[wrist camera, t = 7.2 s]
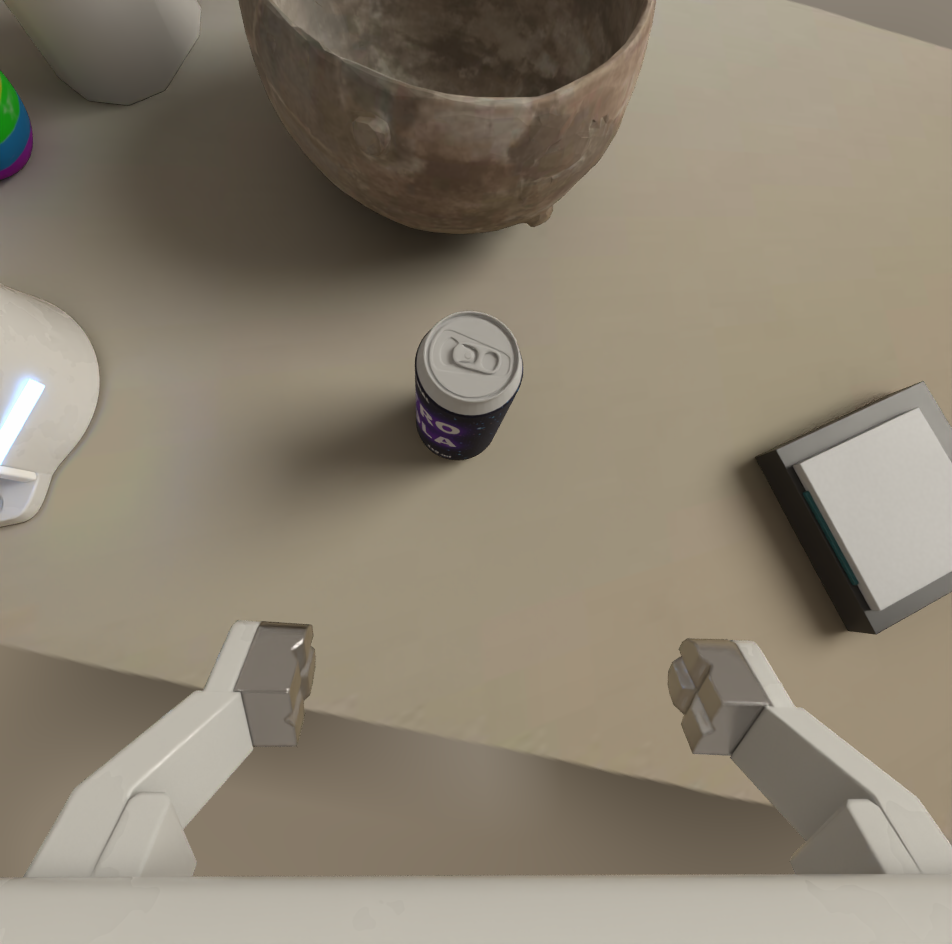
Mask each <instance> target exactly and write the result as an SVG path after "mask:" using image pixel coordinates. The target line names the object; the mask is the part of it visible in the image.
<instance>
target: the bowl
mask: <svg viewBox="0 0 952 944" xmlns="http://www.w3.org/2000/svg"><path fill="white" fill-rule="evenodd" d="M655 4H656V0H239V5H240V10H241V14H242V19H243V23H244V28H245V32H246V36H247V39H248V42H249V45H250V49H251V52H252V56H253V59H254V62H255V65H256V67H257V70H258V73H259V76H260V78H261V81H262V83H263V86H264V88H265V90H266V93H267V95H268V98H269V100H270V102H271V104H272V105H273V107H274V109H275V111H276V113H277V115H278V116H279V118H280V120H281V121H282V123H283V125H284V126H285V128H286V130H287V131H288V133H289V134H290V135H291V137H292V138H293V139H294V140H295V142H296V143H297V144H298V146H299V147H300V148H301V150H302V151H303V152H304V153H305V154H306V156H307V157H308V158H309V159H310V160H311V161H312V162H313V163H314V164H315V165H316V167H317V168H318V169H319V170H320V171H321V172H322V173H323V174H324V175H325V176H326V177H327V178H328V179H329V180H330V181H331V182H332V183H333V184H334V185H336V186H337V187H338V188H339V189H340V190H342V191H343V192H345V193H346V194H348V195H349V196H351V197H352V198H354V199H355V200H357V201H358V202H360V203H361V204H363V205H364V206H366V207H368V208H370V209H371V210H373V211H375V212H376V213H378V214H380V215H383V216H385V217H387V218H389V219H391V220H393V221H395V222H398V223H400V224H403V225H406V226H408V227H411V228H414V229H419V230H424V231H428V232H438V233H454V234H467V233H478V232H479V233H483V232H490V231H497V230H500V229H503V228H507V227H510V226H513V225H515V224H519V223H527V224H529V225H530V226H531V227H535V226H537V225H540V224H542V223H544V222H546V221H547V220H548V219H549V218H550V215H551V213H552V211H553V204H555V203H556V202H557V201H558V200H560V199H561V198H562V197H563V196H564V195H565V194H566V193H567V192H568V191H569V190H570V189H571V188H572V187H573V186H574V185H575V184H576V183H577V182H578V181H579V180H580V179H581V178H582V177H583V176H584V175H585V174H586V173H587V172H588V171H589V170H590V169H591V168H592V167H593V166H595V165H596V163H597V162H598V161H599V160H600V159H601V157H602V156H603V154H604V153H605V151H606V149H607V148H608V146H609V145H610V143H611V141H612V140H613V138H614V136H615V135H616V133H617V131H618V129H619V126H620V124H621V121H622V118H623V115H624V112H625V110H626V107H627V105H628V102H629V100H630V98H631V95H632V93H633V90H634V88H635V85H636V82H637V79H638V76H639V73H640V70H641V67H642V63H643V59H644V55H645V52H646V48H647V44H648V40H649V36H650V32H651V27H652V23H653V16H654V10H655Z"/></svg>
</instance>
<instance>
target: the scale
mask: <svg viewBox="0 0 952 944" xmlns="http://www.w3.org/2000/svg"><path fill="white" fill-rule="evenodd" d="M755 458H756V460H757V462H758V464H759V465H760V467H761V469H762V471H763V473H764V475H765V477H766V479H767V480H768V482H769V484H770V486H771V488H772V490H773V492H774V493H775V495H776V497H777V499H778V501H779V503H780V505H781V507H782V508H783V510H784V512H785V514H786V516H787V518H788V520H789V521H790V523H791V525H792V527H793V529H794V531H795V533H796V535H797V536H798V538H799V540H800V542H801V544H802V546H803V548H804V549H805V551H806V553H807V555H808V557H809V559H810V561H811V563H812V564H813V566H814V568H815V570H816V572H817V574H818V576H819V577H820V579H821V581H822V583H823V585H824V587H825V589H826V590H827V592H828V594H829V596H830V598H831V600H832V602H833V604H834V605H835V607H836V609H837V611H838V613H839V615H840V617H841V618H842V620H843V622H844V624H845V626H846V628H847V630H848V631H852V632H861V633H869V634H878V633H880V632H881V631H883V630H885V629H887V628H888V627H890V626H892V625H894V624H895V623H897V622H899V621H901V620H903V619H904V618H906V617H908V616H910V615H911V614H913V613H915V612H917V611H918V610H920V609H922V608H924V607H926V606H927V605H929V604H931V603H933V602H934V601H936V600H938V599H940V598H941V597H943V596H945V595H947V594H949V593H950V592H952V428H951V426H950V424H949V423H948V421H947V419H946V418H945V416H944V414H943V413H942V411H941V409H940V408H939V406H938V404H937V403H936V401H935V399H934V398H933V396H932V394H931V393H930V391H929V389H928V388H927V386H926V384H925V383H924V381H922V382H919V383H917V384H914V385H912V386H909V387H907V388H904V389H902V390H899V391H896V392H894V393H892V394H890V395H888V396H886V397H883V398H881V399H879V400H877V401H875V402H873V403H870V404H868V405H866V406H864V407H862V408H860V409H857V410H855V411H853V412H851V413H849V414H847V415H845V416H842V417H840V418H838V419H836V420H834V421H832V422H829V423H827V424H825V425H823V426H821V427H819V428H816V429H814V430H812V431H810V432H808V433H806V434H804V435H801V436H799V437H797V438H795V439H793V440H791V441H788V442H786V443H784V444H782V445H780V446H778V447H775V448H773V449H771V450H769V451H767V452H765V453H763V454H760V455H758V456H756V457H755Z"/></svg>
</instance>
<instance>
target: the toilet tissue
mask: <svg viewBox="0 0 952 944" xmlns="http://www.w3.org/2000/svg"><path fill="white" fill-rule="evenodd" d="M3 1H4V2H5V4H6V5H7V6H8V8H9V9H10V11H11V12H12V13H13V15H14V16H15V17H16V19H17V20H18V22H19V23H20V24H21V26H22V27H23V29H24V30H25V31H26V33H27V34H28V35H29V37H30V38H31V40H32V41H33V42H34V44H35V45H36V47H37V48H38V49H39V51H40V52H41V53H42V55H43V56H44V58H45V59H46V60H47V62H48V63H49V65H50V66H51V67H52V69H53V70H54V71H55V73H56V74H57V76H58V77H59V78H60V79H61V80H63V81H64V82H65V83H66V84H68V85H69V86H70V87H71V88H73V89H74V90H75V91H77V92H78V93H79V94H80V95H82V96H83V97H84V98H86V99H87V100H88V101H97V102H106V103H114V104H123V105H131V104H133V103H135V102H138V101H140V100H143V99H145V98H148V97H150V96H152V95H155V94H157V93H160V92H162V91H165V90H166V88H167V86H168V85H169V83H170V82H171V80H172V78H173V77H174V75H175V74H176V72H177V70H178V69H179V67H180V66H181V64H182V63H183V61H184V59H185V58H186V56H187V55H188V53H189V51H190V50H191V48H192V47H193V45H194V43H195V42H196V40H197V39H198V37H199V31H200V18H201V7H200V5H199V3H198V2H197V0H3Z"/></svg>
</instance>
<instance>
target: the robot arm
mask: <svg viewBox="0 0 952 944" xmlns="http://www.w3.org/2000/svg"><path fill="white" fill-rule="evenodd" d="M99 388H100V374H99V366H98V361H97V357H96V354H95V351H94V349H93V346H92V344H91V342H90V340H89V338H88V337H87V335H86V334H85V332H84V331H83V330H82V328H81V327H80V326H79V325H78V324H77V322H76V321H75V320H74V319H72V318H71V317H70V316H69V315H68V314H67V313H65V312H64V311H63V310H61V309H60V308H58V307H56V306H55V305H53V304H51V303H49V302H47V301H45V300H42V299H40V298H37V297H34V296H31V295H28V294H25V293H22V292H20V291H17V290H14V289H12V288H9V287H7V286H5V285H2V284H0V527H2V526H7V525H12V524H17V523H21V522H25V521H27V520H29V519H31V518H32V517H33V516H34V515H35V514H36V513H37V512H38V511H39V509H40V507H41V505H42V503H43V501H44V499H45V496H46V494H47V491H48V488H49V485H50V482H51V478H52V475H53V474H54V472H55V470H56V469H57V467H58V466H59V465H60V464H61V462H62V461H63V460H64V459H65V458H66V457H67V455H68V454H69V453H70V452H71V451H72V450H73V448H74V447H75V446H76V445H77V443H78V442H79V441H80V439H81V438H82V436H83V435H84V433H85V431H86V429H87V428H88V426H89V424H90V422H91V419H92V417H93V414H94V412H95V408H96V405H97V401H98V396H99ZM312 639H313V628H312V625H310V624H296V623H281V622H266V621H245V620H237V621H236V622H235V623H234V624H233V625H232V626H231V628H230V630H229V633H228V635H227V637H226V639H225V642H224V644H223V646H222V648H221V651H220V653H219V655H218V657H217V660H216V662H215V664H214V667H213V669H212V671H211V673H210V676H209V678H208V680H207V682H206V685H205V687H204V689H203V691H194V692H193V693H192V694H190V695H189V696H188V697H187V698H185V699H184V700H183V701H182V702H181V703H179V704H178V705H177V706H175V707H174V708H173V709H172V710H171V711H169V712H168V713H167V714H166V715H164V716H163V717H162V718H161V719H159V720H158V721H157V722H156V723H155V724H153V725H152V726H151V727H150V728H148V729H147V730H146V731H145V732H143V733H142V734H141V735H140V736H138V737H137V738H136V739H135V740H133V741H132V742H131V743H130V744H128V745H127V746H126V747H125V748H123V749H122V750H121V751H120V752H119V753H117V754H116V755H115V756H114V757H112V758H111V759H110V760H109V761H107V762H106V763H105V764H104V765H102V766H101V767H100V768H99V769H97V770H96V771H95V772H94V773H93V774H91V775H90V776H89V777H88V778H86V779H85V780H84V781H83V782H81V783H80V784H79V785H78V786H77V787H75V788H74V790H73V791H72V793H71V795H70V796H69V798H68V800H67V802H66V804H65V805H64V807H63V809H62V810H61V812H60V814H59V816H58V817H57V819H56V821H55V823H54V824H53V826H52V828H51V829H50V831H49V833H48V835H47V836H46V838H45V840H44V842H43V843H42V845H41V847H40V849H39V850H38V852H37V854H36V856H35V857H34V859H33V861H32V862H31V864H30V866H29V868H28V869H27V871H26V873H25V875H24V876H23V877H0V944H952V846H951V845H950V843H949V841H948V840H947V839H946V837H945V836H944V834H943V833H942V831H941V830H940V829H939V827H938V826H937V824H936V823H935V821H934V820H933V818H932V817H931V816H930V814H929V813H928V811H927V810H926V808H925V807H924V806H923V804H922V803H921V801H920V800H919V798H917V797H916V796H915V795H914V794H912V793H911V792H910V791H908V790H907V789H906V788H905V787H903V786H902V785H901V784H899V783H898V782H897V781H896V780H894V779H893V778H892V777H890V776H889V775H888V774H887V773H885V772H884V771H883V770H882V769H880V768H879V767H878V766H876V765H875V764H874V763H873V762H871V761H870V760H869V759H867V758H866V757H865V756H864V755H862V754H861V753H860V752H858V751H857V750H856V749H855V748H853V747H852V746H851V745H849V744H848V743H847V742H846V741H844V740H843V739H842V738H840V737H839V736H838V735H837V734H835V733H834V732H833V731H832V730H830V729H829V728H828V727H826V726H825V725H824V724H823V723H821V722H820V721H819V720H817V719H816V718H815V717H814V716H812V715H811V714H810V713H808V712H807V711H806V710H805V709H803V708H802V707H795V705H794V704H793V702H792V700H791V699H790V697H789V695H788V694H787V692H786V690H785V689H784V687H783V685H782V684H781V682H780V681H779V679H778V677H777V676H776V674H775V672H774V671H773V669H772V667H771V666H770V664H769V662H768V661H767V659H766V657H765V656H764V654H763V652H762V651H761V649H760V647H759V646H758V645H757V644H756V643H755V642H754V641H742V640H727V639H689V638H687V639H686V640H684V641H683V642H682V644H681V645H680V647H679V651H680V653H681V657H679V658H678V659H676V660H675V661H673V662H672V664H671V666H670V669H669V671H668V688H669V694H670V696H671V699H672V702H673V705H674V706H675V707H676V708H678V709H679V710H680V711H681V712H682V713H683V714H684V716H683V719H682V722H681V725H682V728H683V730H684V733H685V736H686V738H687V741H688V743H689V746H690V748H691V751H692V753H693V754H708V755H729V756H731V757H730V758H731V759H732V760H733V761H734V762H735V764H736V765H737V766H738V767H739V768H740V769H741V770H742V771H743V772H744V774H745V775H746V776H747V777H748V778H749V779H750V780H751V781H752V782H753V783H754V785H755V786H756V787H757V788H758V789H759V790H760V791H761V792H762V793H763V794H764V796H765V797H766V798H767V799H768V800H769V801H770V802H771V803H772V804H773V805H774V807H775V808H776V809H777V810H778V811H779V812H780V813H781V814H782V815H783V816H784V817H785V819H786V820H787V821H788V822H789V823H790V824H791V825H792V826H793V827H794V829H796V831H797V832H798V833H799V834H800V835H801V836H802V837H803V838H804V840H805V841H806V842H805V843H804V844H803V845H802V846H801V847H800V848H799V849H798V850H797V851H796V852H795V853H794V854H793V855H792V858H791V860H790V863H791V865H792V867H793V870H794V872H795V874H761V875H760V874H746V875H745V874H742V875H741V874H740V875H739V874H732V875H731V874H728V875H455V876H453V875H447V876H445V875H444V876H440V875H436V876H198V877H197V876H195V877H193V873H194V871H195V867H196V865H197V862H196V859H195V857H194V854H193V852H192V850H191V847H190V845H189V843H188V840H187V838H186V836H185V833H184V831H183V829H184V828H185V827H186V826H187V825H188V823H189V822H190V821H191V820H192V819H193V818H194V817H195V816H196V814H197V813H198V812H199V811H200V810H201V809H202V808H203V806H204V805H205V804H206V803H207V802H208V801H209V800H210V798H211V797H212V796H213V795H214V794H215V793H216V791H217V790H218V789H219V788H220V787H221V786H222V785H223V784H224V782H225V781H226V780H227V779H228V778H229V777H230V776H231V775H232V773H233V772H234V771H235V770H236V769H237V768H238V767H239V765H240V764H241V763H242V762H243V761H244V760H245V758H246V757H247V756H248V755H249V754H250V753H251V752H252V751H253V747H281V746H282V747H285V746H286V747H292V746H297V744H298V741H299V736H300V733H301V729H302V725H303V721H304V717H305V710H304V700H305V699H306V698H307V697H308V696H309V695H310V693H311V689H312V684H313V679H314V672H315V649H314V648H313V647H312V646H311V643H312Z"/></svg>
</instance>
